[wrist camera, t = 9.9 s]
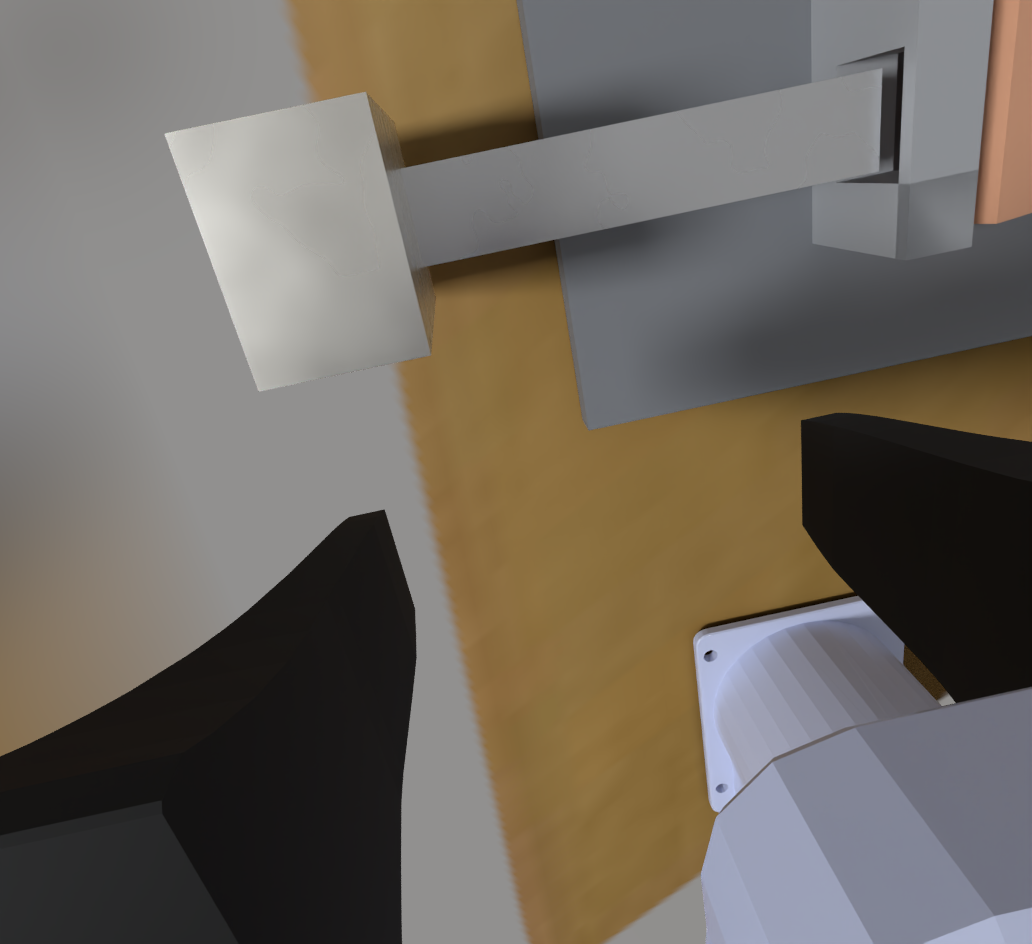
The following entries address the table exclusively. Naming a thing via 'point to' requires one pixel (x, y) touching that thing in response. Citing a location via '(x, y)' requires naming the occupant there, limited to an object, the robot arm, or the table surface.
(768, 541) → the table surface
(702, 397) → the bracket
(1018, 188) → the spacer
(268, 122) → the shaft
